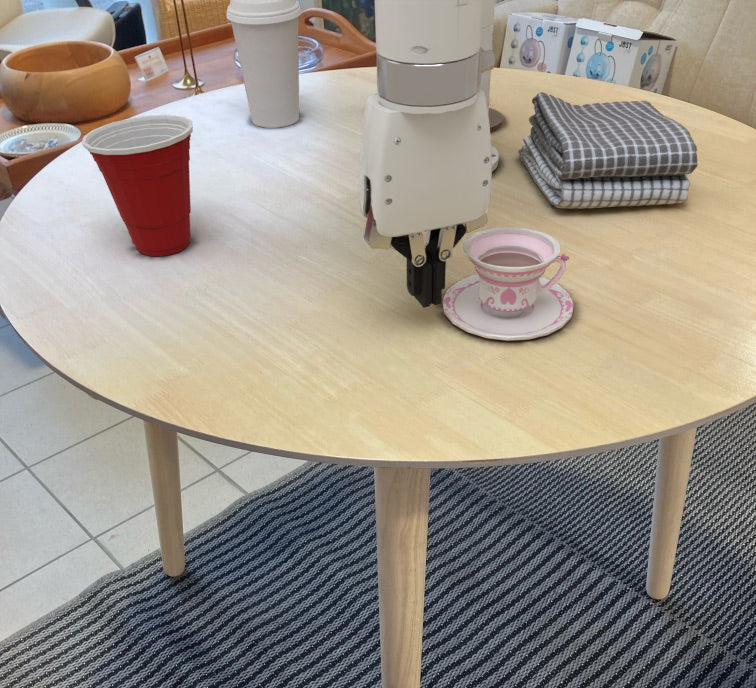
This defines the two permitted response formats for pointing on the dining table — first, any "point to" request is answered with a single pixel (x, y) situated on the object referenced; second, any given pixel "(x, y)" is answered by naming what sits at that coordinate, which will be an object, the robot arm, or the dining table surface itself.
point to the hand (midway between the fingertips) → (425, 298)
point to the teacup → (510, 286)
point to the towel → (607, 154)
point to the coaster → (495, 119)
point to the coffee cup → (268, 58)
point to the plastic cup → (148, 178)
